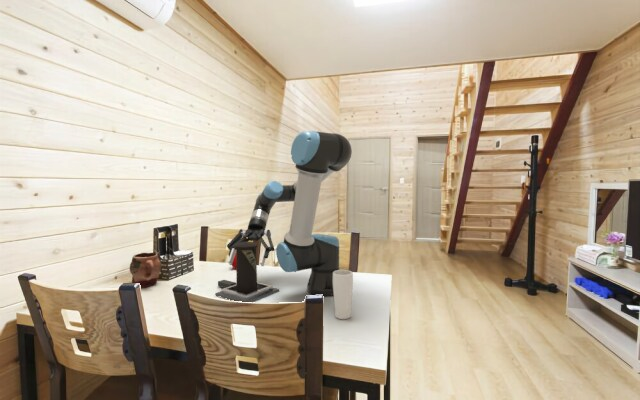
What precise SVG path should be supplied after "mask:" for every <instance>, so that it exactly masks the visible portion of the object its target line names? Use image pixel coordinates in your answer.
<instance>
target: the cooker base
mask: <svg viewBox="0 0 640 400" xmlns="http://www.w3.org/2000/svg"><path fill="white" fill-rule="evenodd" d="M217 287H221V290H220V291H218V292H215V295H216V296H215V295H214V296H215V297H218V296H221V297H222V298H221V297H220V298H221V299H225V298H227V299H226V300H228V301H231V300H234V301H242V302H252V303H255V302H258V301H259V300H262V299H264V298H265V299H266V298H267V297H269V296H271V295H274V294H276V293H279V292H280V288H276V287H274V285H272V284H271V285H270V284H267V283H263V282H258V281H257V291H255V292H252V293H249V294H243V293H239V292H237V282H236V281H231V280H226V279H221V280H218V281H217ZM229 299H230V300H229ZM234 301H233V302H234Z"/></svg>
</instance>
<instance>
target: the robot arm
mask: <svg viewBox="0 0 640 400" xmlns="http://www.w3.org/2000/svg"><path fill="white" fill-rule="evenodd" d="M352 153H353V152H352V145H351V144H350V141H349V140H348V139H347V137H345V136H344V135H342V134H340V133H331V132H326V131H325V132H324V131H315V130H303V131H301V132H299V133H298V134H296V136H295V138H294V140H293V141H292V145H291V148H290V155H291V161H292V162H293V163H294V164H295V169H296V171H297V172H298V176H297V180H296V181H295V182H294V183H293V184H291V185H290V184H284V185H283V184H281V182H280V181H277V180H270V181H269V182H268V183H267V184H266V185H265V186H264V188H263V190H262V192H261V193H258V195H257V198H256V199H255V204H254V207H253V210H252V212H251V213H252V214H251V216H250V220H249V222H248V225H247V229H246V230H243V229H242V228H241V229H239V231H238V233H237V234H236V235H235V236H234V237H233V238H232V239H231V240H230V242H228V244H227V245H226V247H227V249H228V250H229V252H228V260H227V263H228V265H229V266H232V263H233V260H234V257H235V254H236V249H235V247H234V246H235V245H236V244H237V243H241V242H254V241H255V242H257V241H259V242H260V243H261V245H262V247H264V248H263V251H262V253H261V258H260V260H259V261H260V263H259V264H260V265H261V267H265V262H266V259H268V258H269V255H270V252H274V251H275V246H274V243H273V241H272V233H271V230H270V229H267V230H266V227H267V224H268V220H269V217H270V213H271V211H272V209H273V207H274V205H276V203H287V202H293V207H292V214H291V219H290V225H289V230H288V232H287V233H285V234H284V237H283V241H281V242H279V243H277V245H276V251H275V252H276V258H277V263H278V265H279V266H280V268H281V269H282V270H283V271H284V272H286V273H296V272H300V271H304V270H310V269H311V271H310V276H309V278H308V282H307V289H306V290H307V293H308V294H309V293H310V294H311V295H314V294H323V295H324V296H323V297H325V296H326V297H328V296H329V297H331V296H332V297H333V296H334V294H333V272H334V271H336V270H340V241H339V238H338V237H337V236H335V235H330V234H320V233H317V234H316V233H315V234H314V233H313V230H314V224H315V218H316V213H317V208H318V202H319V196H320V191H321V185H322V183H323V181H325V180H326V179H327V178H328V177H329V176H331V175H332V174H333V173H334V172H336V173H337V172H339V171H341V170H342V169H343V168H345V167H346V165H348V163H349V162H350V160H351V158H352ZM264 236H265V237H267V241H268V243H269V244H268V245H267V242H266V241H265V240H264V238H263V237H264Z"/></svg>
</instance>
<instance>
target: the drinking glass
mask: <svg viewBox="0 0 640 400" xmlns="http://www.w3.org/2000/svg"><path fill="white" fill-rule="evenodd" d="M353 287H354V274H353V271H351V270H349V269H339V270H336V271H334V272H333V294H334V295H333V302H334V303H333V305H334V316H335V318H336V319H338V320H348V319H349V318H351V316H352V304H353V303H352V302H353Z"/></svg>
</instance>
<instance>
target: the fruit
mask: <svg viewBox="0 0 640 400" xmlns="http://www.w3.org/2000/svg"><path fill="white" fill-rule="evenodd" d="M231 266H232V268H233V269H235V270H236V254H235V257H234V260H233V263H232V265H231Z"/></svg>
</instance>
